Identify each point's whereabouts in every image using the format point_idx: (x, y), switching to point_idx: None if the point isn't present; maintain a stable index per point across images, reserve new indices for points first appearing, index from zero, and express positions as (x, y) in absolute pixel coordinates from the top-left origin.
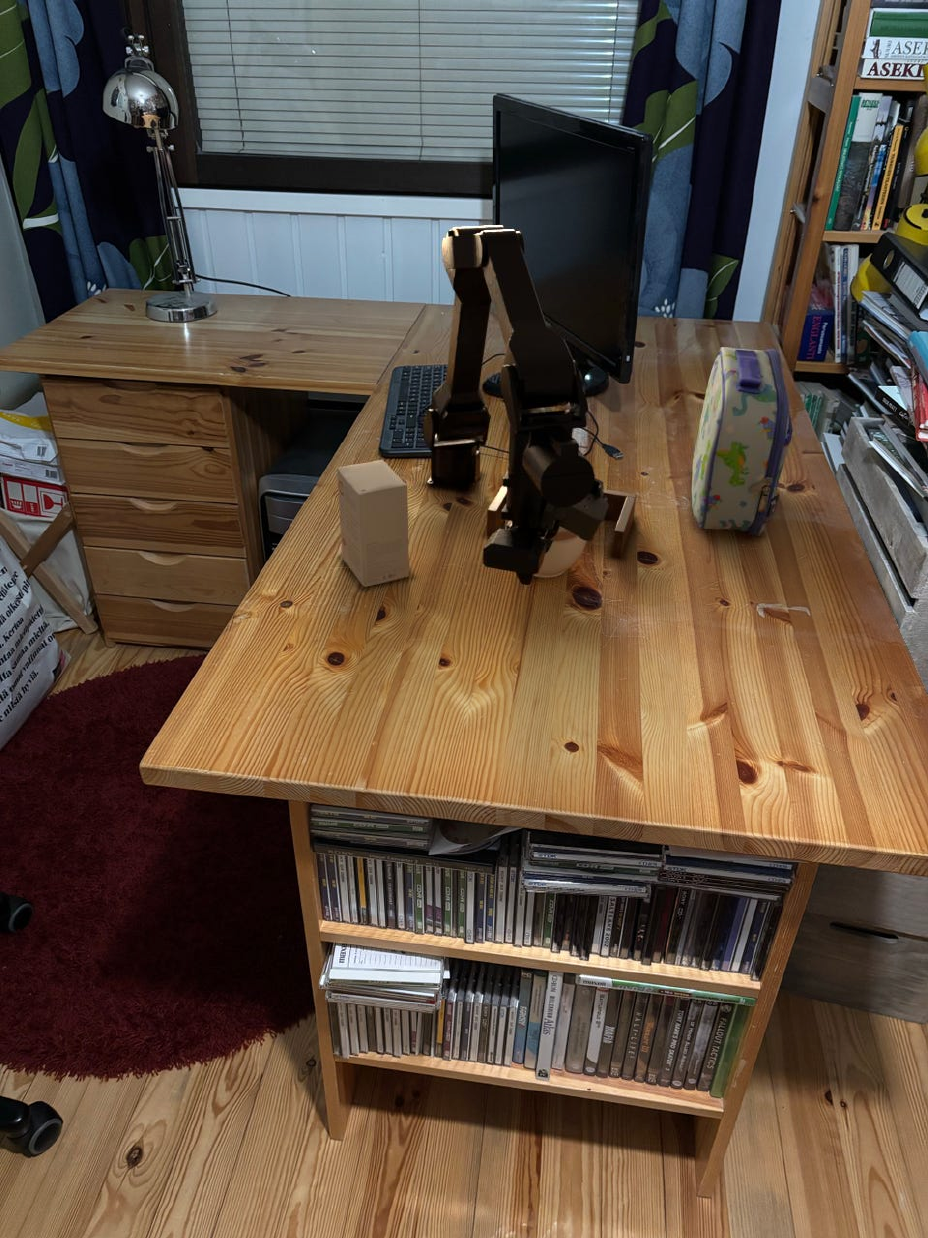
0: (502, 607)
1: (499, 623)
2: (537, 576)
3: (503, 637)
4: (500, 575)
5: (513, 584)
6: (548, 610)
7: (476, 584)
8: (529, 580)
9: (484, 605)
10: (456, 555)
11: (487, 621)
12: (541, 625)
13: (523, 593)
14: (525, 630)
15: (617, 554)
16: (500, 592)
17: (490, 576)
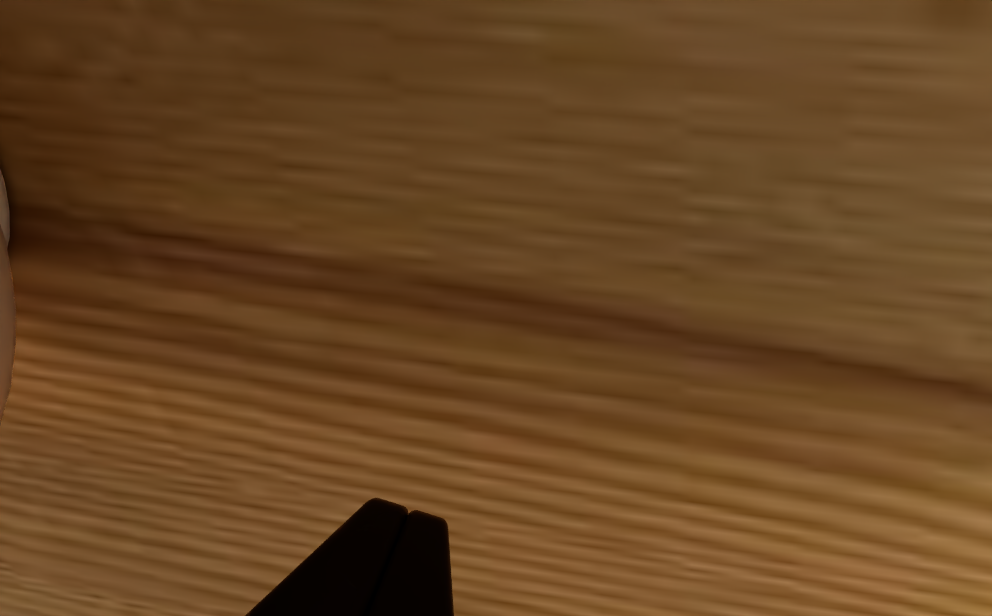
0: (521, 480)
1: (749, 525)
2: (6, 206)
3: (965, 530)
4: (109, 439)
5: (188, 378)
6: (525, 147)
7: (270, 569)
8: (450, 595)
9: (510, 568)
10: (12, 604)
11: (718, 583)
12: (806, 236)
13: (290, 326)
14: (880, 375)
15: None
16: (323, 466)
17: (147, 492)
